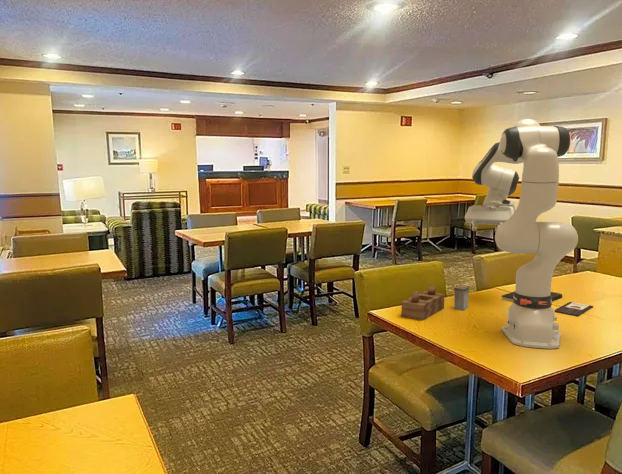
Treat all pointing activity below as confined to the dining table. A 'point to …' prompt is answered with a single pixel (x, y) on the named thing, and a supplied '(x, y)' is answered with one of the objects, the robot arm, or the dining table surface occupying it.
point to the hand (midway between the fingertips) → (485, 230)
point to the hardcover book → (510, 295)
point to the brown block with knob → (423, 304)
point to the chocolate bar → (573, 309)
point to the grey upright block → (461, 297)
